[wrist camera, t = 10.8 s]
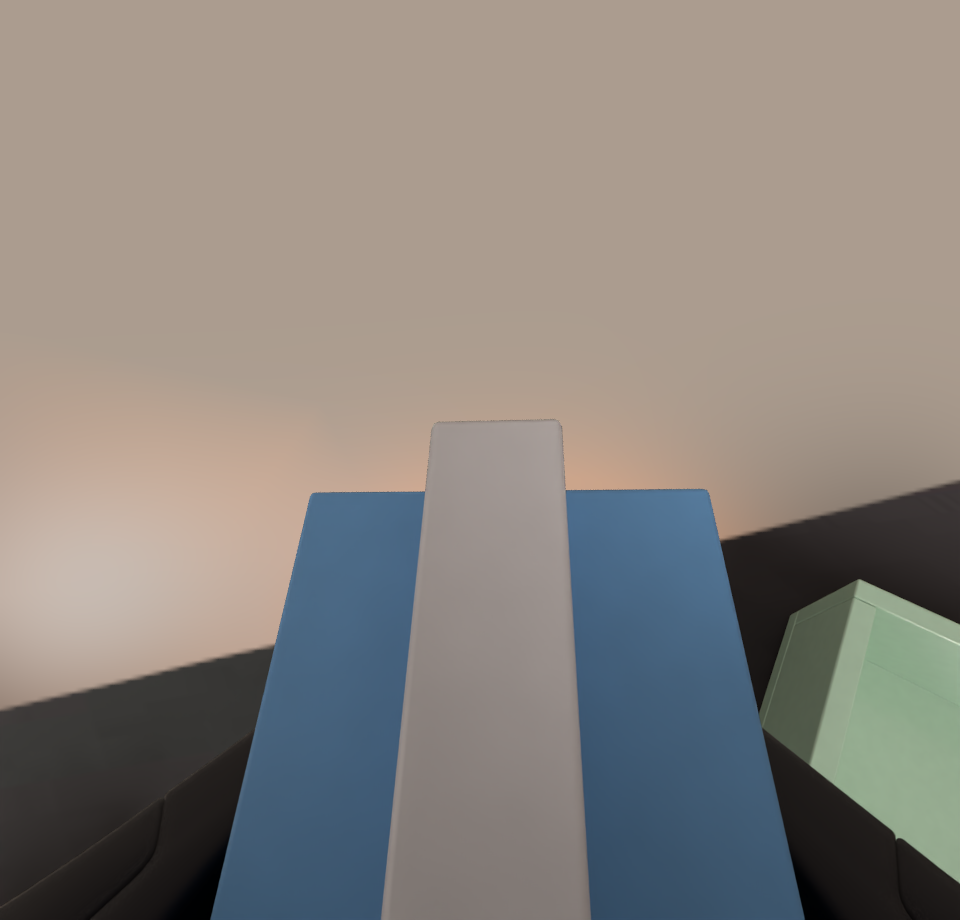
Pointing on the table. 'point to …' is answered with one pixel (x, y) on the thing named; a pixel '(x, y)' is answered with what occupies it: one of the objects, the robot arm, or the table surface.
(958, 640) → the tray
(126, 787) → the table surface
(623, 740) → the blue box with handle
